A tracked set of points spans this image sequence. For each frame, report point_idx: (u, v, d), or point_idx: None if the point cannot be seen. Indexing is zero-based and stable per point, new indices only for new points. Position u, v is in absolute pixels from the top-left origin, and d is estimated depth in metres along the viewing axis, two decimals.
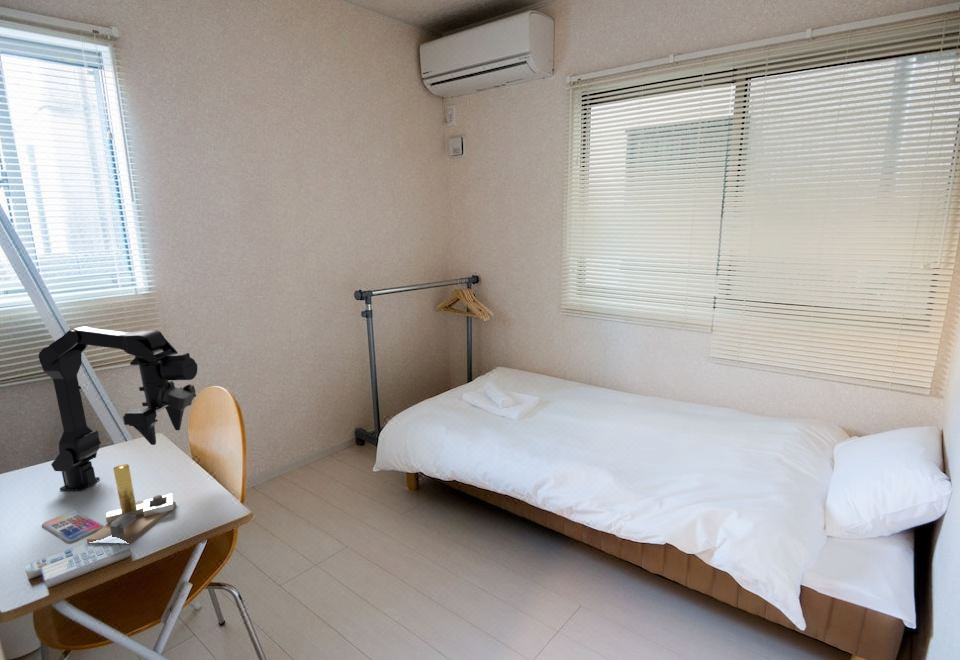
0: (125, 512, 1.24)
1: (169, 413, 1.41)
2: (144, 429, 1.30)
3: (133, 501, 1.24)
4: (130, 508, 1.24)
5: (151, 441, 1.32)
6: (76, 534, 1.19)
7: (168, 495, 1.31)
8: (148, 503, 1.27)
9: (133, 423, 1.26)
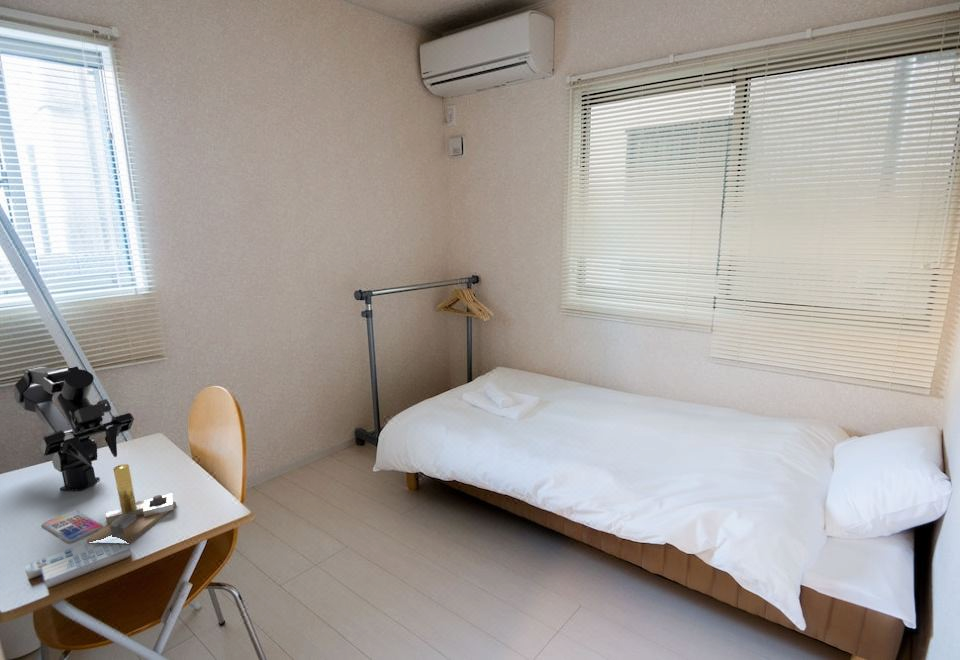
0: (125, 512, 1.24)
1: None
2: (76, 452, 1.27)
3: (133, 501, 1.24)
4: (130, 508, 1.24)
5: (87, 461, 1.27)
6: (76, 534, 1.19)
7: (168, 495, 1.31)
8: (148, 503, 1.27)
9: (44, 449, 1.24)
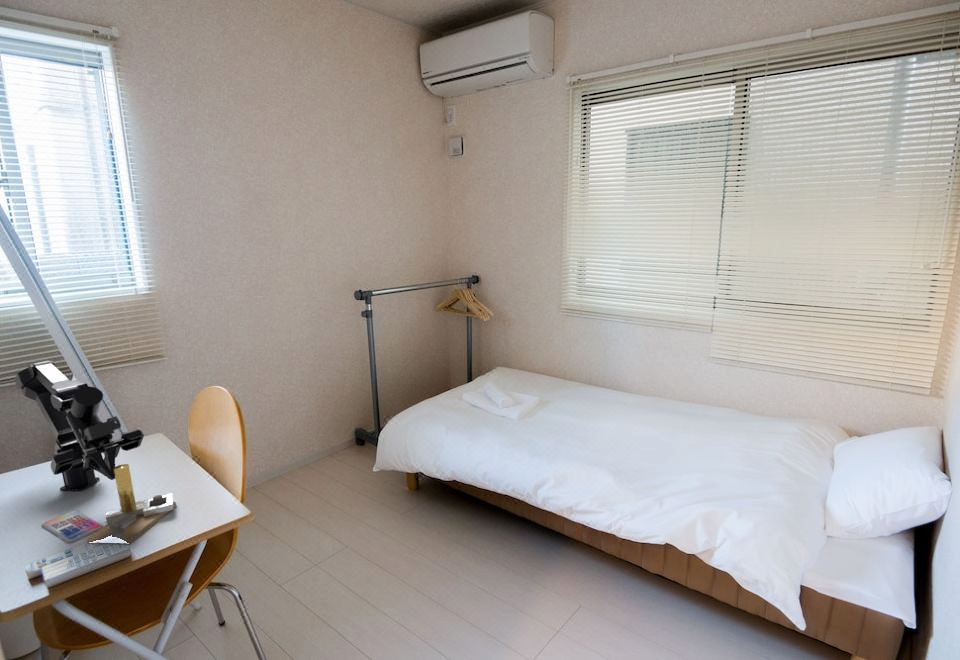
0: (125, 512, 1.24)
1: (106, 465, 1.30)
2: (98, 466, 1.28)
3: (133, 501, 1.24)
4: (130, 508, 1.24)
5: (109, 475, 1.27)
6: (76, 534, 1.19)
7: (168, 495, 1.31)
8: (148, 503, 1.27)
9: (54, 468, 1.22)
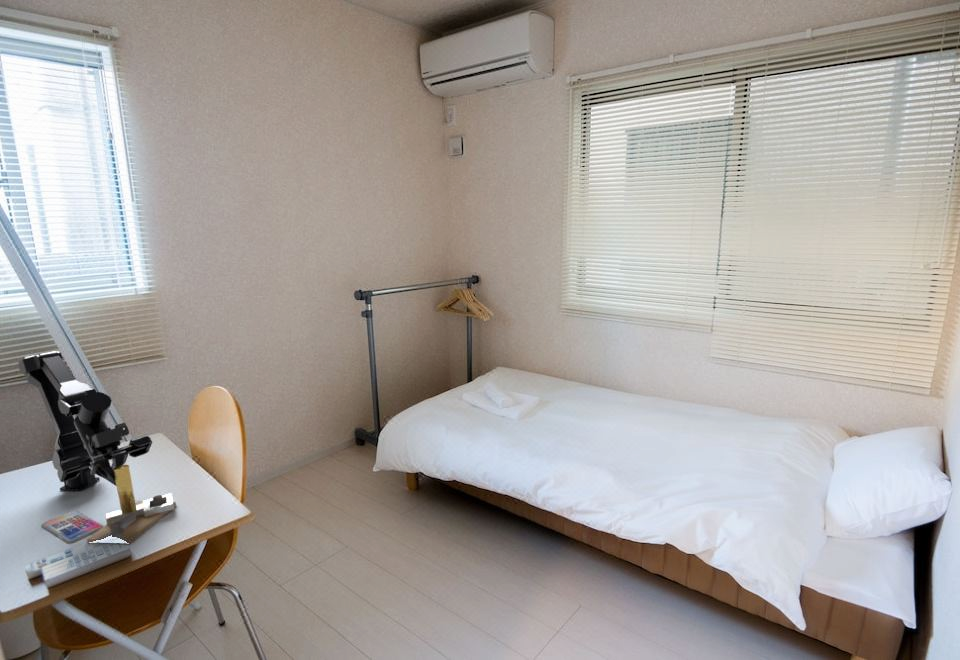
0: (125, 513, 1.23)
1: None
2: (106, 474, 1.25)
3: (133, 501, 1.24)
4: (130, 508, 1.24)
5: None
6: (76, 534, 1.19)
7: (167, 495, 1.31)
8: (148, 503, 1.27)
9: (61, 475, 1.19)
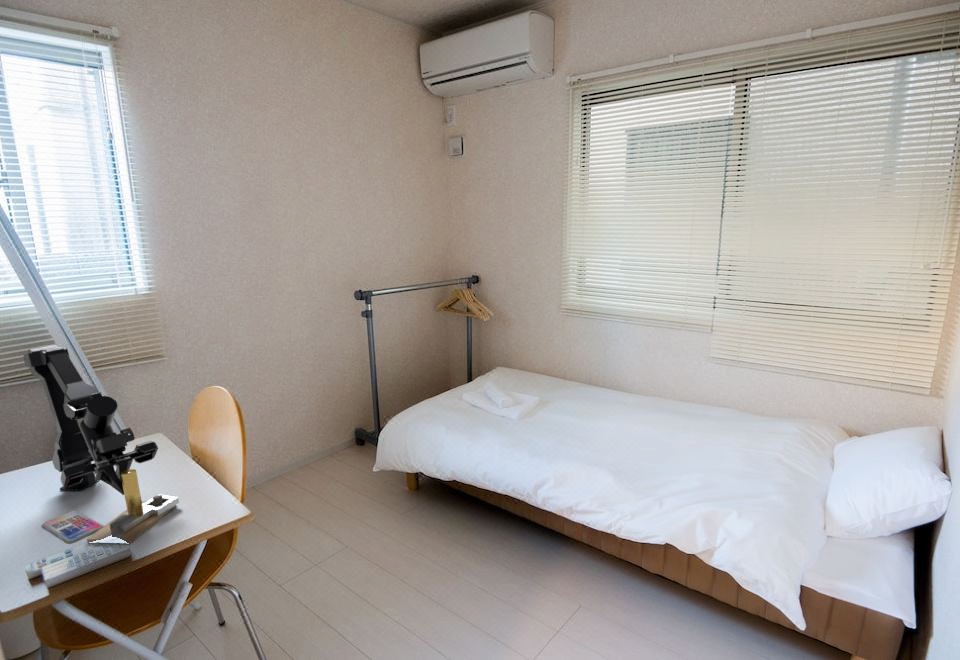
0: (138, 517, 1.21)
1: None
2: (110, 480, 1.22)
3: (142, 505, 1.23)
4: (142, 512, 1.22)
5: (120, 490, 1.21)
6: (76, 534, 1.19)
7: None
8: (149, 506, 1.26)
9: (64, 481, 1.16)
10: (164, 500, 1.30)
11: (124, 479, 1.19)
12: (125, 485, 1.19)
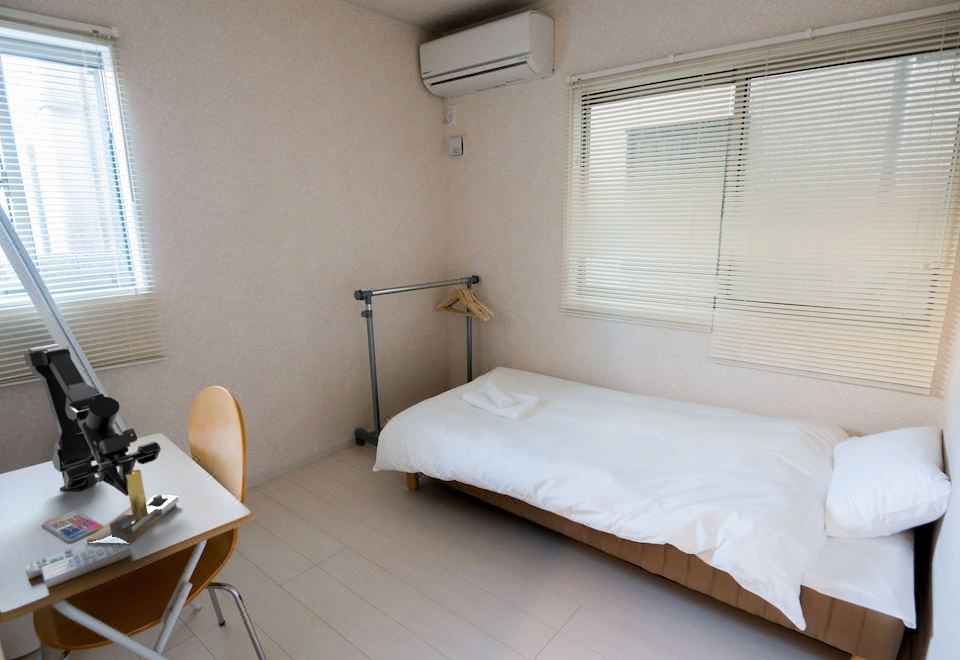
0: (144, 517, 1.21)
1: None
2: (113, 481, 1.21)
3: None
4: (147, 511, 1.22)
5: (124, 491, 1.21)
6: (76, 534, 1.19)
7: None
8: (150, 506, 1.26)
9: (67, 482, 1.16)
10: (163, 500, 1.30)
11: (130, 479, 1.19)
12: (131, 485, 1.19)
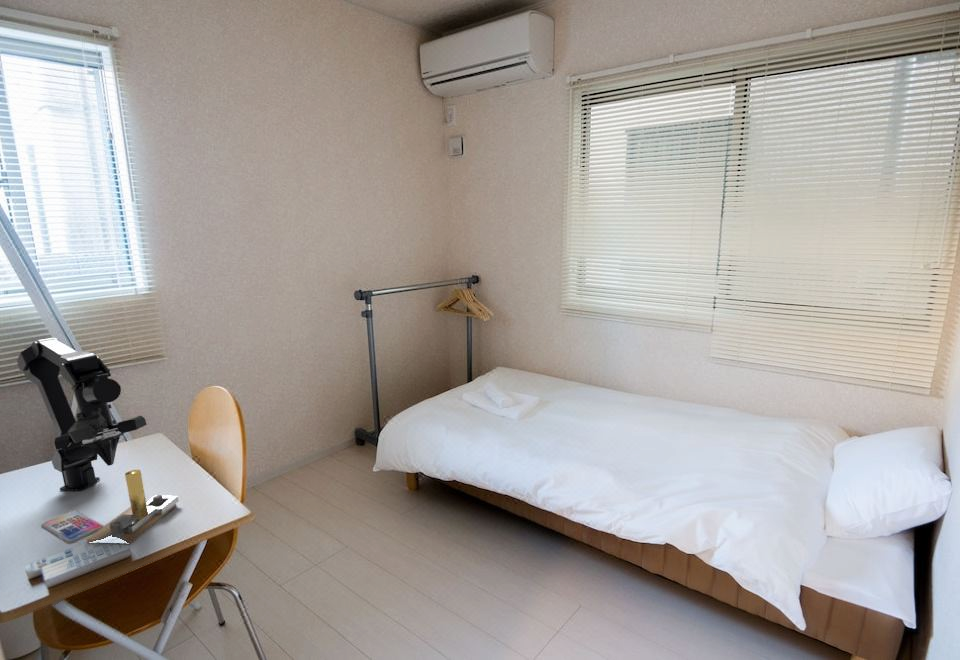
0: (144, 517, 1.21)
1: None
2: None
3: None
4: (147, 511, 1.22)
5: None
6: (76, 534, 1.19)
7: None
8: (150, 506, 1.26)
9: None
10: (163, 500, 1.30)
11: (130, 479, 1.19)
12: (131, 485, 1.19)
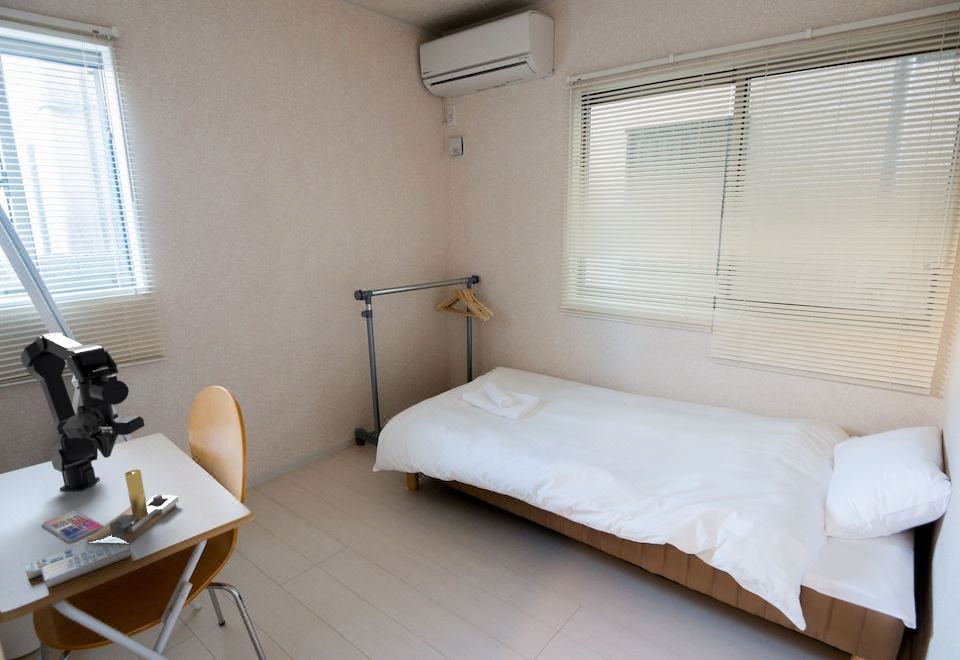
0: (144, 517, 1.21)
1: None
2: None
3: None
4: (147, 511, 1.22)
5: None
6: (76, 534, 1.19)
7: None
8: (150, 506, 1.26)
9: None
10: (163, 500, 1.30)
11: (130, 479, 1.19)
12: (131, 485, 1.19)
